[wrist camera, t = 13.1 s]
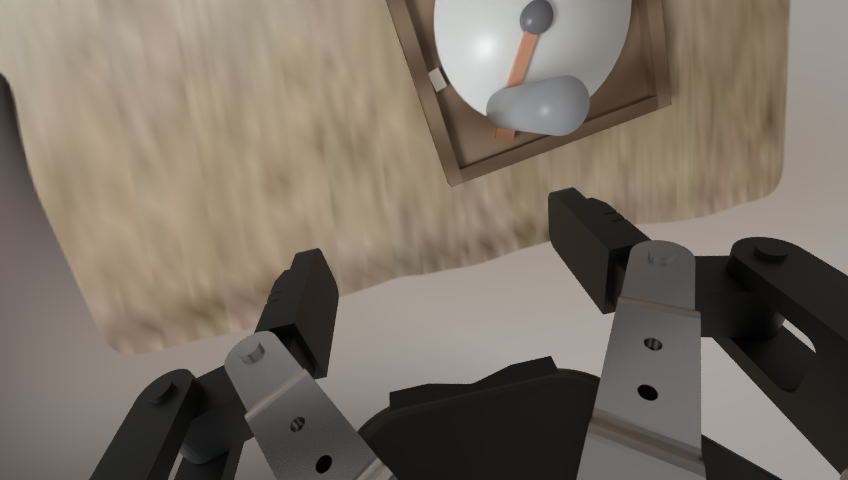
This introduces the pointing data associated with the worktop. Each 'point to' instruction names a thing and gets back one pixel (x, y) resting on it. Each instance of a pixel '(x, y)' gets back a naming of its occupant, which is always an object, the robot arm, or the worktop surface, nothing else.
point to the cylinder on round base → (529, 57)
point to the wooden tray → (497, 148)
